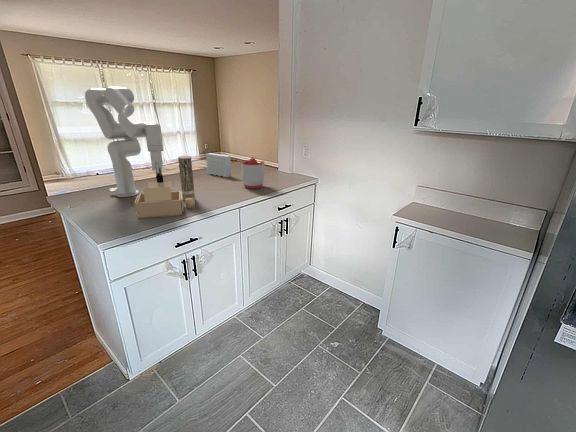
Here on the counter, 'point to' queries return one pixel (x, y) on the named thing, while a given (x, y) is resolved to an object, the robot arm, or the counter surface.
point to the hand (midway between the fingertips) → (160, 182)
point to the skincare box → (218, 164)
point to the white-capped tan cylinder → (190, 203)
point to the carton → (159, 206)
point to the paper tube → (186, 177)
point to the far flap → (160, 184)
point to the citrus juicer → (252, 173)
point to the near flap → (157, 194)
